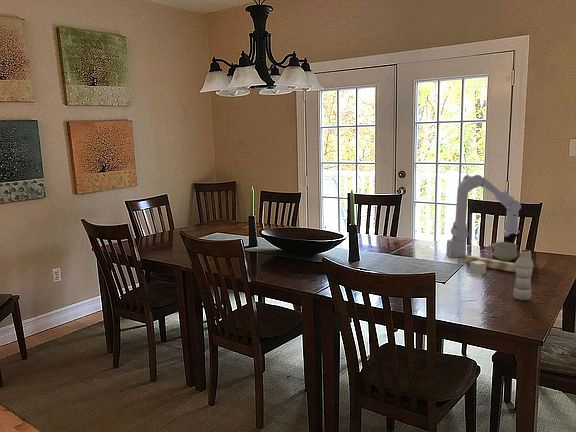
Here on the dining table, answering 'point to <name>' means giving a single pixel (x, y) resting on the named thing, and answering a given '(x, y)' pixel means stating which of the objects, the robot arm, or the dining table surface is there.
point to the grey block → (477, 267)
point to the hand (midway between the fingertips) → (510, 247)
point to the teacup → (504, 250)
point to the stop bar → (490, 263)
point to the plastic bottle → (523, 276)
